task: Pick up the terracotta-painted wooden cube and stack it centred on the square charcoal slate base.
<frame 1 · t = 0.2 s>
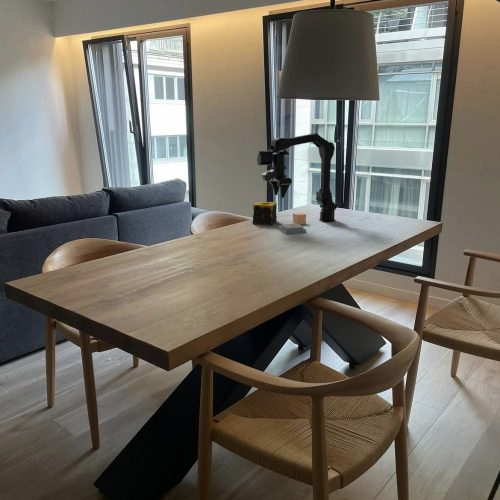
hand: (279, 196, 241), 14 cm above the table, fingers open, 9 cm apart
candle: (264, 223, 249), on the table
block: (299, 223, 247), on the table
base: (291, 231, 230), on the table
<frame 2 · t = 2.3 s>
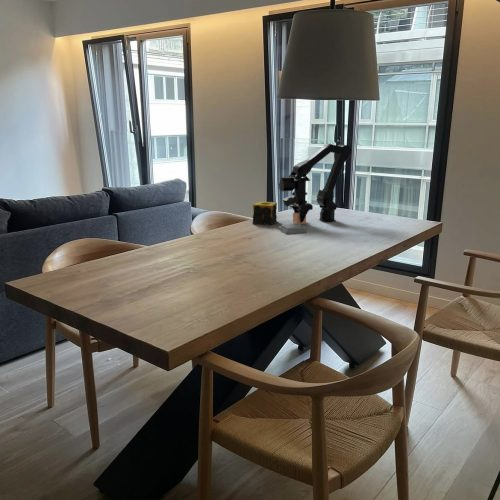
hand: (299, 221, 246), 1 cm above the table, fingers closed on block, 5 cm apart
block: (299, 223, 247), on the table, touching gripper
everything else where it was.
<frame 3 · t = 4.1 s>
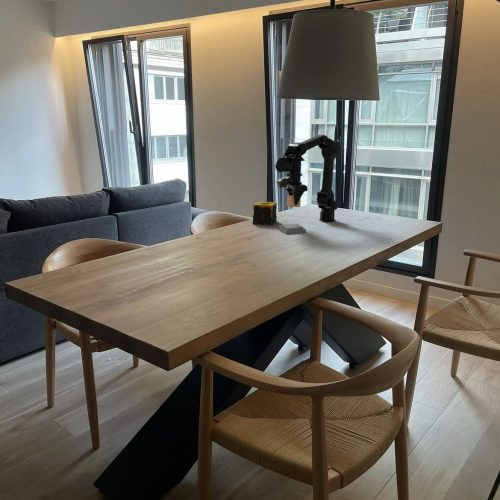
hand: (293, 204, 232), 12 cm above the table, fingers closed on block, 5 cm apart
block: (293, 206, 233), point 11 cm above the table, touching gripper
everything else where it was.
when the fingers open (5 cm above the table, at t = 5.9 s): block drops 1 cm, resting on base.
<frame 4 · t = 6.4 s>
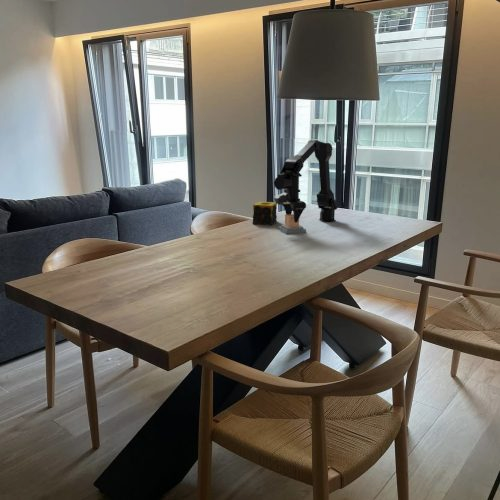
hand: (292, 220, 229), 5 cm above the table, fingers open, 9 cm apart
block: (291, 225, 229), point 2 cm above the table, touching base
everything else where it was.
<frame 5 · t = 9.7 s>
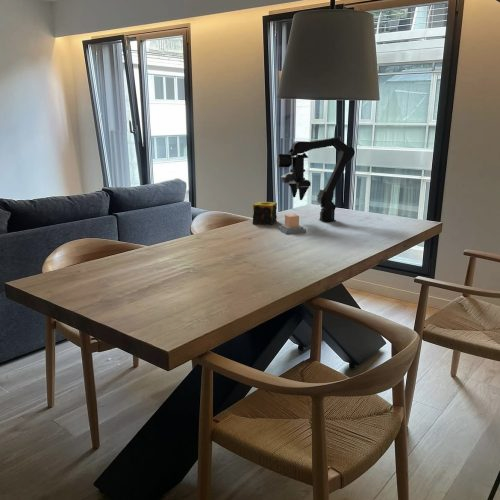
hand: (297, 198, 246), 12 cm above the table, fingers open, 9 cm apart
nothing on the table moved.
at the end: block inside the target area on the base (0.1 cm from its centre), point 2.5 cm above the base's base; block tilted 0°; the gripper is holding nothing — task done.
